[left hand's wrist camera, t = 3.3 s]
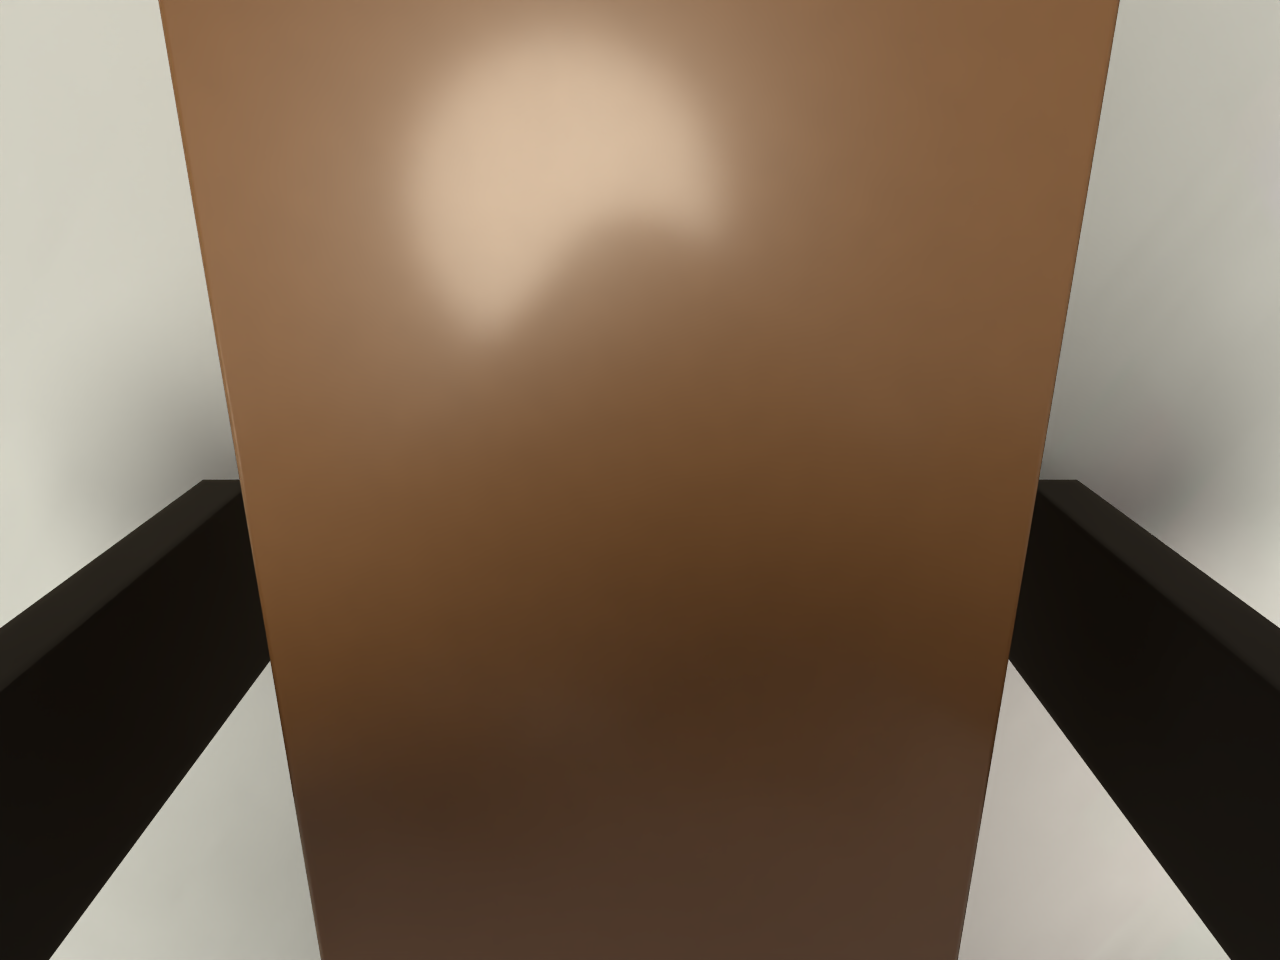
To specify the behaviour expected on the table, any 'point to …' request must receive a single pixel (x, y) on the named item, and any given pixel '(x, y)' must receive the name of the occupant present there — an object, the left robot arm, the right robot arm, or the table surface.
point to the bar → (639, 447)
